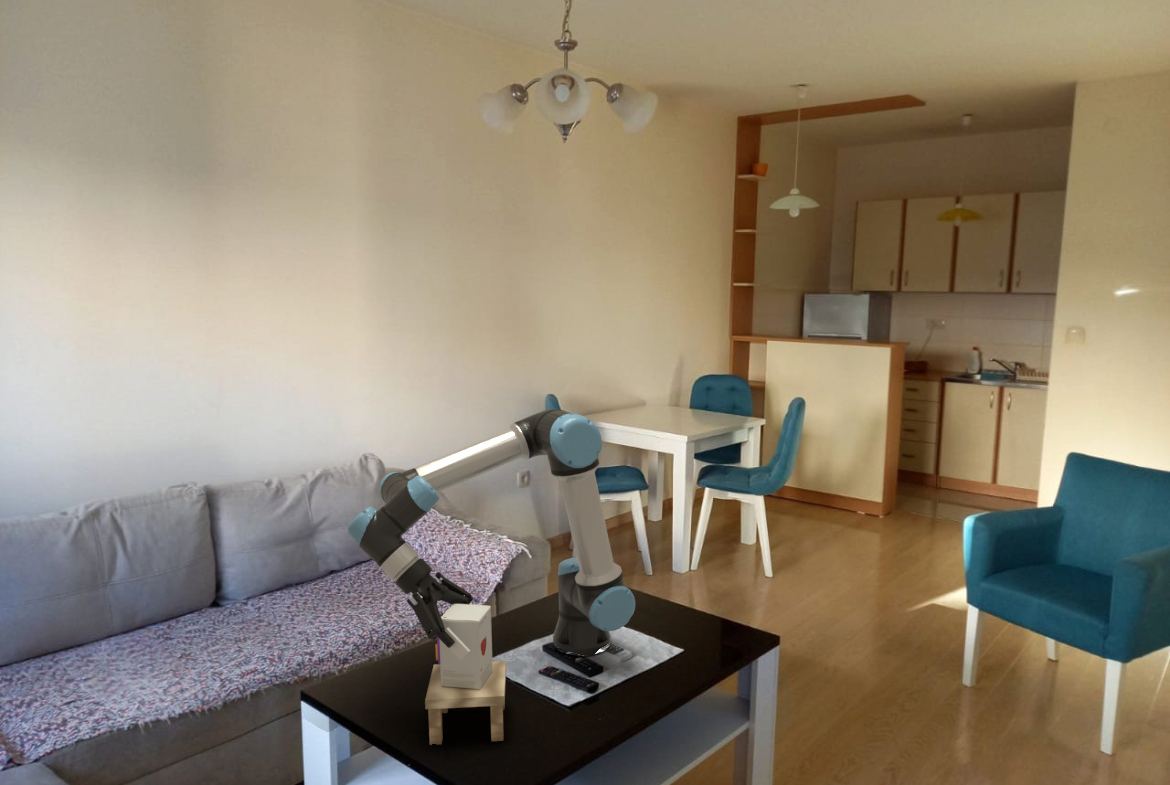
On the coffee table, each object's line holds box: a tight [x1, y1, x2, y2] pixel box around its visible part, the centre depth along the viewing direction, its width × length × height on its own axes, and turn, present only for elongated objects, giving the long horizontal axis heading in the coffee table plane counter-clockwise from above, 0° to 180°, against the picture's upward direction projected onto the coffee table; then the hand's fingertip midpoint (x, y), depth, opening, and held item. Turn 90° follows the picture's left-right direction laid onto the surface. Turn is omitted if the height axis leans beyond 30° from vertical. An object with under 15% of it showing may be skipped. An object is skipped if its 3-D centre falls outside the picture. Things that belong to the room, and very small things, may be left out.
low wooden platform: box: [424, 660, 507, 746], centre depth 173 cm, size 16×16×10 cm
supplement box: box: [440, 604, 493, 689], centre depth 172 cm, size 9×9×15 cm
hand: (476, 641), depth 171 cm, fingers open, 13 cm apart
